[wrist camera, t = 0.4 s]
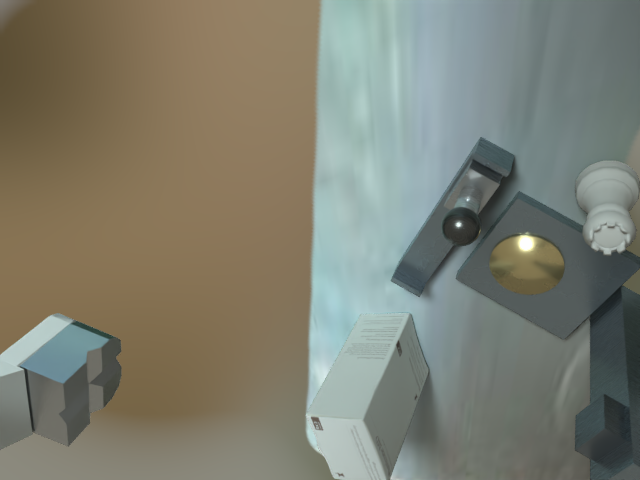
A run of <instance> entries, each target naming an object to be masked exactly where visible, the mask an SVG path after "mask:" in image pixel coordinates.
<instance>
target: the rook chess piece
mask: <svg viewBox="0 0 640 480" xmlns="http://www.w3.org/2000/svg"><path fill="white" fill-rule="evenodd" d="M639 191H640V181H639V178H638V175H637V173H636V172H635V171H634V170H633V169H632V168H631V167H630V166H628V165H627V164H624V163H621V162H618V161H600V162H597V163H594V164H591V165H590V166H588V167H587V168H586V169H584V170H583V171H582V172H581V173H580V175H579V176H578V178H577V180H576V184H575V193H576V198H577V201H578V203H579V206H580V207H581V208H582V209H583V210H584V211H585V212H586V213H588V215H587V219H586V223H585V225H584V226H583V233H582V235H583V238H584V240H585V242H586V243H587V244H588V245H589V246H590V247H591V248H592V249H593V250H594V251H595V252H597V251H600V252H603V255H606V256H611V253H612V252H616V251H618V253H619V254H620V253H622V252H623V251H625V250H626V247H628V246H629V245H630V244H631V243H632V242H633V240H634V239H635V237H636V227H635V224H634V222H633V221H632V220H631V216H630V214H629V212H628V211H630V210H631V209H632V208H633V206H634V205H635V203H636V202H637V200H638V197H639Z"/></svg>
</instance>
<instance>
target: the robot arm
mask: <svg viewBox="0 0 640 480" xmlns="http://www.w3.org/2000/svg"><path fill="white" fill-rule="evenodd" d="M120 352H121V340H120V339H118V338H116V337H114V336H112V335H109V334H107V333H104V332H102V331H100V330H98V329H95V328H93V327H91V326H88V325H86V324H83V323H81V322H78V321H76V320H73V319H71V318H68V317H66V316H64V315H61V314H59V313H58V314H54V315H50V316H49V317H48V318H46V319H45V320H44V321H42V322H41V323H40V324H39V325H37V326H36V327H35V328H34V329H33V330H31V331H30V332H29V333H27V334H26V335H25V336H24V337H22V338H21V339H20V340H18V341H17V342H16V343H15V344H13V345H12V346H11V347H10V348H8V349H7V350H6V351H4V352H3V353H2V354H1V355H0V450H1V449H3V448H5V447H7V446H9V445H11V444H14V443H15V442H18V441H20V440H22V439H24V438H26V437H28V436H31V435H32V434H33V433H32V432H34V433H36V434H38V435H41V436H43V437H46V438H48V439H51V440H53V441H56V442H58V443H61V444H63V445H66V446H69V445H70V444H71V443H72V442H73V441H74V440H75V439H76V438H77V437H78V435H79V434H80V433H81V432H82V431H83V430H84V429H85V428H86V427H87V425H89V424H90V413H92V412H94V411H97V410H100V409H102V408H104V407H105V406H106V405H107V403H108V402H109V401H110V400H111V399H112V397H113V396H114V394H115V392H116V390H117V388H118V386H119V383H120V379H121V366H120V364H119V362H118V361H117V359H116V356H117V355H118V354H119V353H120Z"/></svg>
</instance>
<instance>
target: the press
mask: <svg viewBox="0 0 640 480" xmlns="http://www.w3.org/2000/svg"><path fill="white" fill-rule="evenodd" d="M472 159H474V160H476V161H478V162H480V163H481V164H483V165H485V166H487V167H489V168H491V169H492V170H494V171H496V172H498V173H500V174H502V177H503V176H505V177H507V176H508V175H509V173H510V172H511V168H512V163H513V159H514V155H513V154H511V153H509V152H507V151H506V150H504V149H502V148H500V147H498V146H496V145H495V144H493V143H491V142H489V141H487V140H485V139H484V138H482V137H480V139H479V140H478V142H477V143H476V145H475V146H474V148H473V149H472V151H471V153H470V154H469V156H468V157H467V159H466V160H465V162H464V163H463V165H462V166H461V168H460V169H459V171H458V172H457V174H456V176H455V177H454V179H453V180H452V182H451V183H450V185H449V186H448V188H447V189H446V191H445V192H444V194H443V195H442V197H441V198H440V200H439V202H438V203H437V205H436V206H435V208H434V209H433V211H432V212H431V214H430V215H429V217H428V218H427V220H426V221H425V223H424V224H423V226H422V228H421V229H420V231H419V232H418V234H417V235H416V237H415V238H414V240H413V241H412V243H411V244H410V246H409V247H408V249H407V250H406V252H405V254H404V255H403V257H402V258H401V260H400V261H399V263H398V265H397V267H396V270H395V272H394V274H393V276H392V279H391V281H392V282H393V283H395V284H397V285H399V286H400V287H402V288H404V289H406V290H408V291H409V292H411V293H413V294H415V295H416V296H418V297H420V295H421V294H422V292H423V289H424V286H425V284H426V282H427V281H428V280H429V278H430V277H431V275H432V274H433V273H434V271H435V270H436V269H437V267H438V266H439V264H440V263H441V262H442V260H443V259H444V257H445V256H446V255H447V253H448V252H449V251H450V249H451V248H452V246H453V244H451V243H449V242H448V241H447V240H446V239H445V238H444V236H443V234H442V231H441V222H442V219H443V217H444V215H445V214H446V213H447V212H448V211H450V209H448V208H446V207H444V204H445V202H446V199H447V197H448V195H449V193H450V192H451V190H452V189H453V187H454V186H455V184H456V183H457V181H458V180H459V178H460V177H461V175H462V173H463V172H464V170H465V169H466V167H467V166H468V164H469V163H470V161H471V160H472ZM501 179H502V178H501ZM582 233H583V226H582V225H580V224H578V223H576V222H574V221H573V220H571V219H569V218H567V217H565V216H563V215H562V214H560V213H558V212H556V211H554V210H553V209H551V208H549V207H547V206H545V205H543V204H542V203H540V202H538V201H536V200H534V199H533V198H531V197H529V196H527V195H525V194H523V193H522V192H520V191H519V192H518V193H517V194H516V196H515V197H514V198H513V200H512V201H511V202H510V204H509V205H508V206H507V208H506V209H505V210H504V211H503V213H502V214H501V215H500V217H499V218H498V219H497V221H496V222H495V223H494V225H493V226H492V227H491V228H490V230H489V231H488V232H487V234H486V235H485V236H484V238H483V239H482V240H481V242H480V243H479V244H478V246H477V247H476V248H475V249H474V251H473V252H472V253H471V255H470V256H469V257H468V259H467V260H466V261H465V263H464V264H463V265H462V266H461V268H460V269H459V270H458V273H457V276H456V279H457V280H459V281H460V282H462V283H464V284H466V285H467V286H469V287H471V288H473V289H475V290H476V291H478V292H480V293H482V294H483V295H485V296H487V297H489V298H491V299H492V300H494V301H496V302H498V303H499V304H501V305H503V306H505V307H507V308H508V309H510V310H512V311H514V312H515V313H517V314H519V315H521V316H523V317H524V318H526V319H528V320H530V321H531V322H533V323H535V324H537V325H539V326H540V327H542V328H544V329H546V330H547V331H549V332H551V333H553V334H555V335H556V336H558V337H560V338H562V339H563V340H564V339H565V338H566V337H567V336H568V335H569V334H570V333H571V332H573V331H574V330H575V329H576V328H577V327H578V326H579V325H580V324H581V323H582V322H583V321H584V320H585V319H586V318H587V317H588V316H590V405H589V406H587V407H586V408H585V409H584V410H582V411H581V412H580V413H579V414H577V415H576V430H575V451H577V452H579V453H581V454H582V455H584V456H586V457H588V458H589V459H590V480H640V295H639V294H637V293H635V292H633V291H631V290H630V289H628V288H626V287H624V286H622V285H623V284H624V283H625V282H626V281H627V280H628V279H629V278H630V277H631V276H632V275H633V274H634V273H635V272H636V271H637V270H639V268H640V257H638V256H636V255H634V254H633V253H631V252H629V251H627V250H625V251H623V252H622V253H620V254H619V253H618V251H616V252H612V253H611V256H606V255H603V252H600V251H597V252H595V251H594V250H593V249H592V248H591V247H590V246H589V245H588V244H587V243H586V242H585V240H584V238H583V235H582Z"/></svg>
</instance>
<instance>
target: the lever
mask: <svg viewBox="0 0 640 480" xmlns="http://www.w3.org/2000/svg"><path fill="white" fill-rule="evenodd" d="M501 178H502V174H500V173H498V172H496V171H494V170H492V169H491V168H489V167H487V166H485V165H483V164H481V163H480V162H478V161H476V160H474V159H472V160H471V161H470V163H469V164H468V166H467V167H466V169H465V170H464V172H463V173H462V175H461V177H460V178H459V180H458V181H457V183H456V184H455V186H454V187H453V189H452V190H451V192H450V193H449V195H448V197H447V199H446V202H445V204H444V207H446V208H448V209H450V211H448V212H447V213H446V214H445V215H444V217H443V219H442V222H441V231H442V234H443V236H444V238H445V239H446V240H447V241H448V242H449V243H451V244H453V245H456V246H466V245H469V244H471V243H472V242H474V241H475V240H476V239H477V238H478V236H479V234H480V231H481V221H480V219H479V217H478V214H479V213H480V211H481V210H482V208H483V207H484V206H485V204H486V203H487V202H488V200H489V199H490V197H491V196H492V195H493V193H494V192H495V191H496V189H497V188H498V186H499V185H500V182H501Z"/></svg>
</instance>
